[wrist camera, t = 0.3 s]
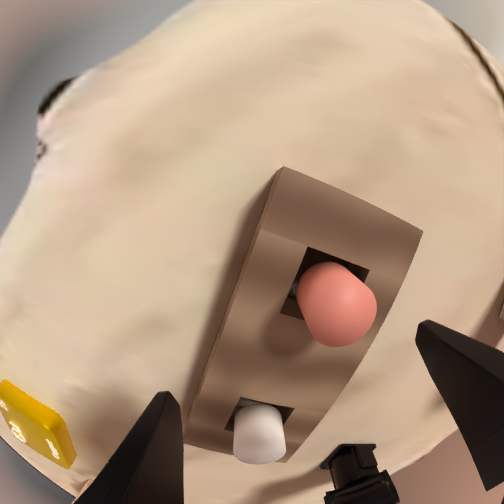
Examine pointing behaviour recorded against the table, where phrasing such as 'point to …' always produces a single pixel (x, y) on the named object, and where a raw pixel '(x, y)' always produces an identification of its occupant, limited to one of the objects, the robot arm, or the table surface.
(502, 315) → the coffee box
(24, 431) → the element tile
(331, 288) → the pink rounded block
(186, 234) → the table surface
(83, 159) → the table surface
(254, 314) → the pin block
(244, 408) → the pin
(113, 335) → the table surface
